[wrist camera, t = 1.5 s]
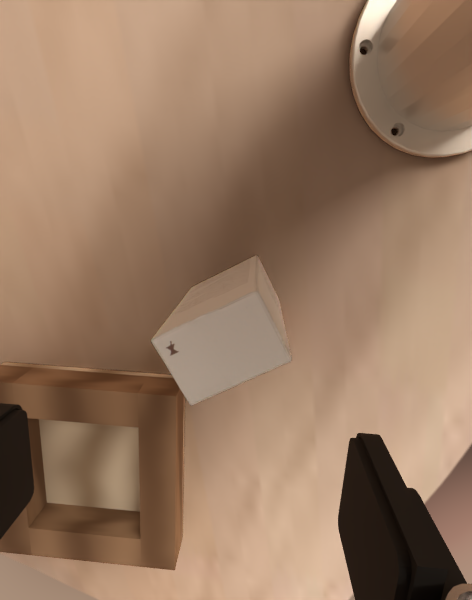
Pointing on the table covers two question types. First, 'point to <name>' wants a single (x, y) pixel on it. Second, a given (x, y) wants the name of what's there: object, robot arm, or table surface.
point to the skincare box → (224, 332)
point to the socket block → (100, 464)
